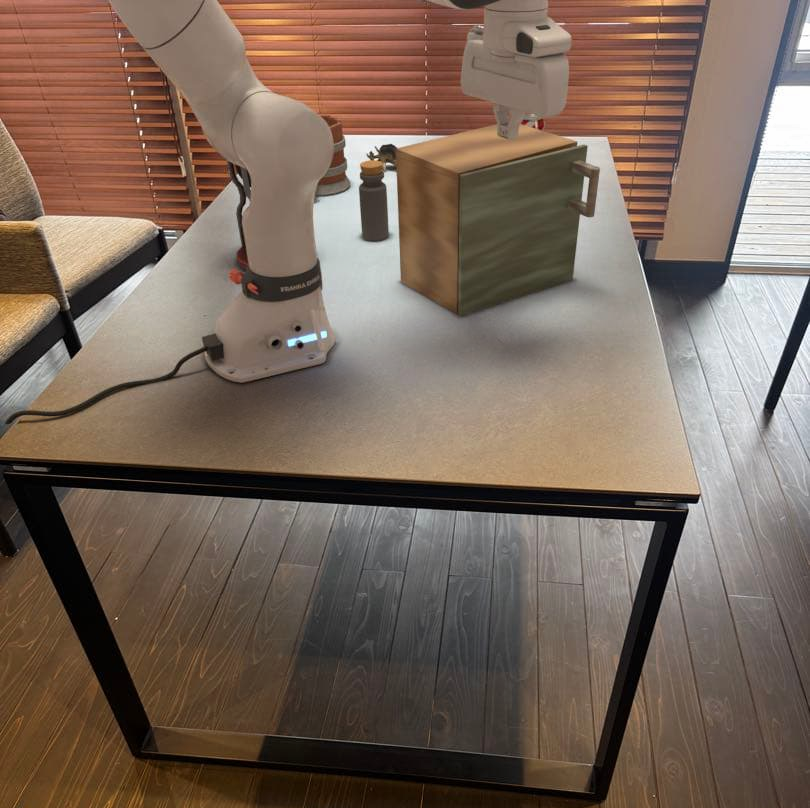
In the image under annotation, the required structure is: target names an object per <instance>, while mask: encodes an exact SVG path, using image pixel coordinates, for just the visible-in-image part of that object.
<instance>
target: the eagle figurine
mask: <svg viewBox="0 0 810 808" xmlns="http://www.w3.org/2000/svg"><path fill="white" fill-rule="evenodd" d="M396 148H398V147H397V146H396V145H394V144H393V143H386V144H382V145H381V146H380V147H379V148H378V147H377V146H376V145H375V146H374V149H375V151H376V152H377V154H376V155H375V153H374V152H373V151H372V150H370V151H369V153H368V152H366V153H365V154H366V157H367V158H368V159H369V161H371V160H376V159H377V160H376V161H380V162H382V163H383V165H382V171H383V172H384V173H385V172H386V169H387V164H391V165H393V166H394V167H396Z"/></svg>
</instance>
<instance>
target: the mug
mask: <svg viewBox="0 0 810 808" xmlns="http://www.w3.org/2000/svg"><path fill="white" fill-rule="evenodd" d="M320 116H321V117H322V118H323V119H324V120H325V121H326V122H327V124H328V125H329V127H330V129H331V132H332V135H333V141H334V153H333V158H332V162H331V164H330V167H329V169H328V170H327V172H326V173H325V175H324V176H323V177H322V178H321V179H320V180H319V181H318V184H317V188H316V192H315V197H324V196H333V195H336V194H337V195H338V194H340V193H342V192H344V191H346V190H347V189H348V188H349V187H350V186H351V181H350V179H349V176H347V174H346V171H347V170H348V159H347V158H346V157H345V150H344V149H345V148H346V136H345V135H343V122H342V119H341V118H338V117H336V116H331V114H320Z"/></svg>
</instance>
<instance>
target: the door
mask: <svg viewBox="0 0 810 808" xmlns="http://www.w3.org/2000/svg"><path fill="white" fill-rule="evenodd" d="M588 147H589V145H587V144H580V145H577V146H576V147H571V148H567V149H563V150H559V151H555V152H551V153H547V154H543V155H539V156H535V157H530V158H526V159H522V160H518V161H514V162H510V163H506V164H502V165H498V166H493V167H489V168H485V169H481V170H477V171H473V172H469V173H465V174H461V175H460V197H459V275H458V314H457V315H458V316H460V317H463V316H465V315H469V314H473V313H475V312H478V311H481V310H484V309H487V308H490V307H493V306H496V305H499V304H502V303H503V304H504V303H506V302H509V301H511V300H514V299H518V298H522V297H524V296H528V295H530V294H533V293H536V292H539V291H542V290H545V289H548V288H551V287H554V286H558V285H560V284H564V283H567V282H570V281H573V280H574V272H575V262H576V256H577V255H576V254H577V245H578V238H579V237H578V236H579V226H580V217H581V216H583V217H585V218H594V217H595V213H596V205H597V197H598V196H597V195H598V190H599V182H600V180H599V179H600V174H601V173H600V172H601V167H600V166H597V165H594V164H591V163H588V162H587V157H588V156H587V155H588ZM585 177H586V178H588V188H587V194H586V201H583V192H584V182H585Z"/></svg>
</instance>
